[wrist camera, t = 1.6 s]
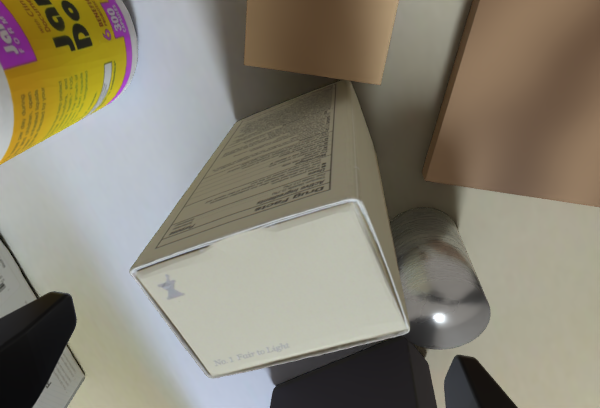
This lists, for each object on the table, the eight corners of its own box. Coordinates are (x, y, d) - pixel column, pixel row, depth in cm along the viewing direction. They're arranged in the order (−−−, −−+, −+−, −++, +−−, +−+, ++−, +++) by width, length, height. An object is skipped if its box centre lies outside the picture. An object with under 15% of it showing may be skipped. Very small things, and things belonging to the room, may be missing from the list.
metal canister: (468, 213, 22) (504, 289, 17) (445, 272, 24) (472, 355, 19) (393, 202, 22) (406, 274, 17) (377, 261, 24) (385, 341, 19)
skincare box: (269, 191, 23) (203, 386, 12) (232, 117, 21) (116, 272, 10) (382, 154, 21) (417, 342, 11) (352, 69, 19) (359, 196, 9)
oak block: (394, -41, 17) (408, -44, 13) (373, 60, 19) (380, 85, 15) (272, -58, 17) (250, -65, 13) (264, 44, 19) (243, 65, 15)
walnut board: (751, -23, 16) (774, -23, 15) (619, 201, 21) (631, 211, 20) (489, -59, 16) (498, -60, 15) (421, 172, 21) (424, 180, 20)
